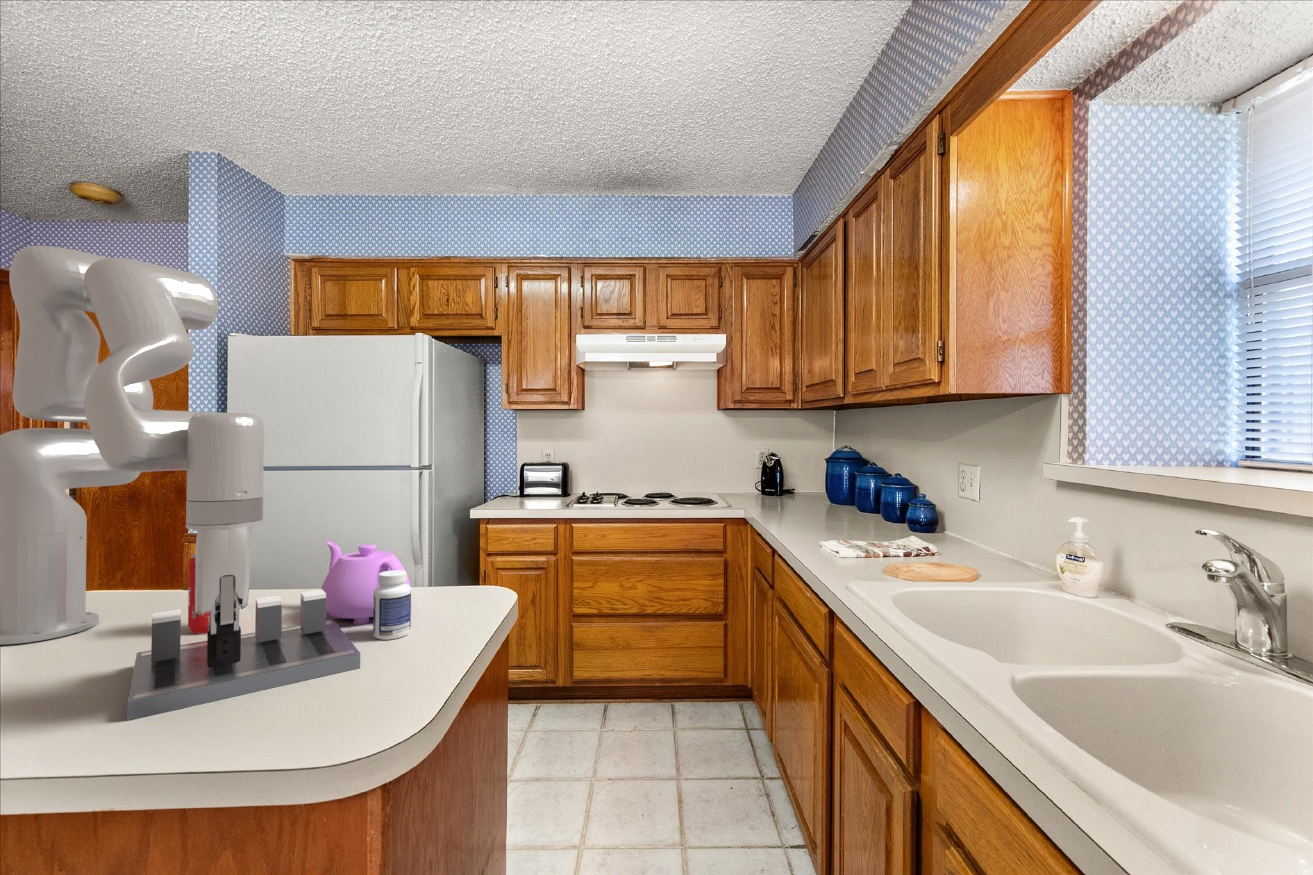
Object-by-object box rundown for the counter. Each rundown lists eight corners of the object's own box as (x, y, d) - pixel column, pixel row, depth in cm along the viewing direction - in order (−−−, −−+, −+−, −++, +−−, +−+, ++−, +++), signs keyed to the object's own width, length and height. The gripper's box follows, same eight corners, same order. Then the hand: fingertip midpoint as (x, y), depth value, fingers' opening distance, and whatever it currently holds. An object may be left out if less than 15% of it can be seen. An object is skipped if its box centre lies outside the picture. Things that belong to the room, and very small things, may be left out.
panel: (136, 667, 76) (136, 652, 76) (332, 631, 90) (332, 618, 90) (127, 720, 62) (127, 701, 62) (360, 667, 77) (360, 652, 77)
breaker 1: (152, 654, 74) (152, 613, 74) (180, 649, 76) (180, 609, 76) (151, 661, 72) (151, 619, 72) (180, 656, 74) (180, 614, 74)
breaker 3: (300, 628, 85) (300, 592, 85) (321, 624, 86) (322, 589, 86) (303, 634, 82) (304, 596, 82) (325, 630, 84) (326, 593, 84)
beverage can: (206, 636, 88) (207, 558, 88) (179, 633, 89) (180, 556, 89) (237, 625, 93) (238, 551, 93) (211, 622, 94) (212, 550, 94)
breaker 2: (255, 636, 81) (255, 598, 81) (278, 632, 83) (279, 595, 83) (257, 642, 79) (257, 603, 79) (281, 638, 81) (282, 600, 81)
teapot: (287, 615, 98) (288, 545, 98) (363, 596, 111) (364, 533, 111) (361, 636, 89) (362, 558, 89) (435, 612, 101) (436, 543, 101)
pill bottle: (418, 632, 91) (419, 571, 91) (389, 642, 86) (390, 578, 86) (394, 626, 93) (395, 567, 93) (365, 637, 88) (366, 574, 88)
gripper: (185, 509, 73) (183, 652, 73) (186, 523, 62) (184, 693, 62) (256, 505, 78) (255, 639, 78) (269, 518, 66) (267, 675, 66)
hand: (223, 662), depth 70 cm, fingers closed
